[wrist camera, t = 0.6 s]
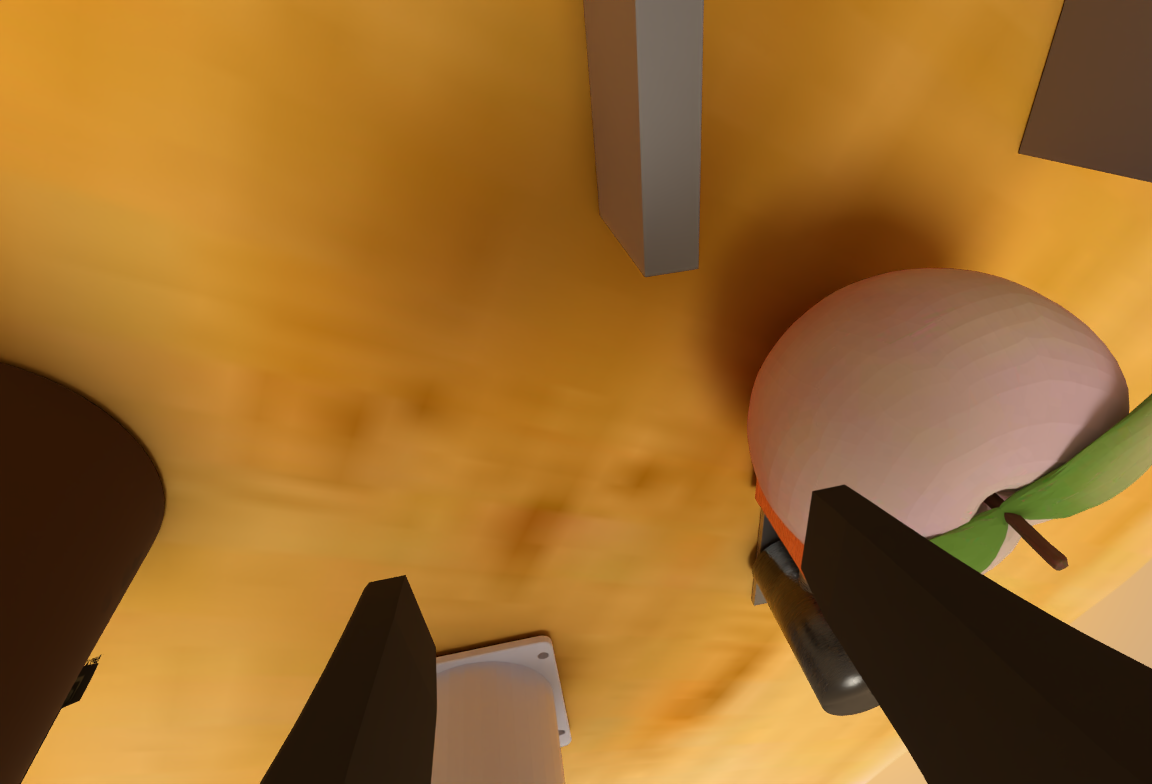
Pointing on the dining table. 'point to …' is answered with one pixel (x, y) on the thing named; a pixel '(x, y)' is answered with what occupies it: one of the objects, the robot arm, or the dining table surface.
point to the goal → (674, 105)
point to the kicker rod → (807, 623)
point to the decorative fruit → (947, 411)
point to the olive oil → (61, 549)
